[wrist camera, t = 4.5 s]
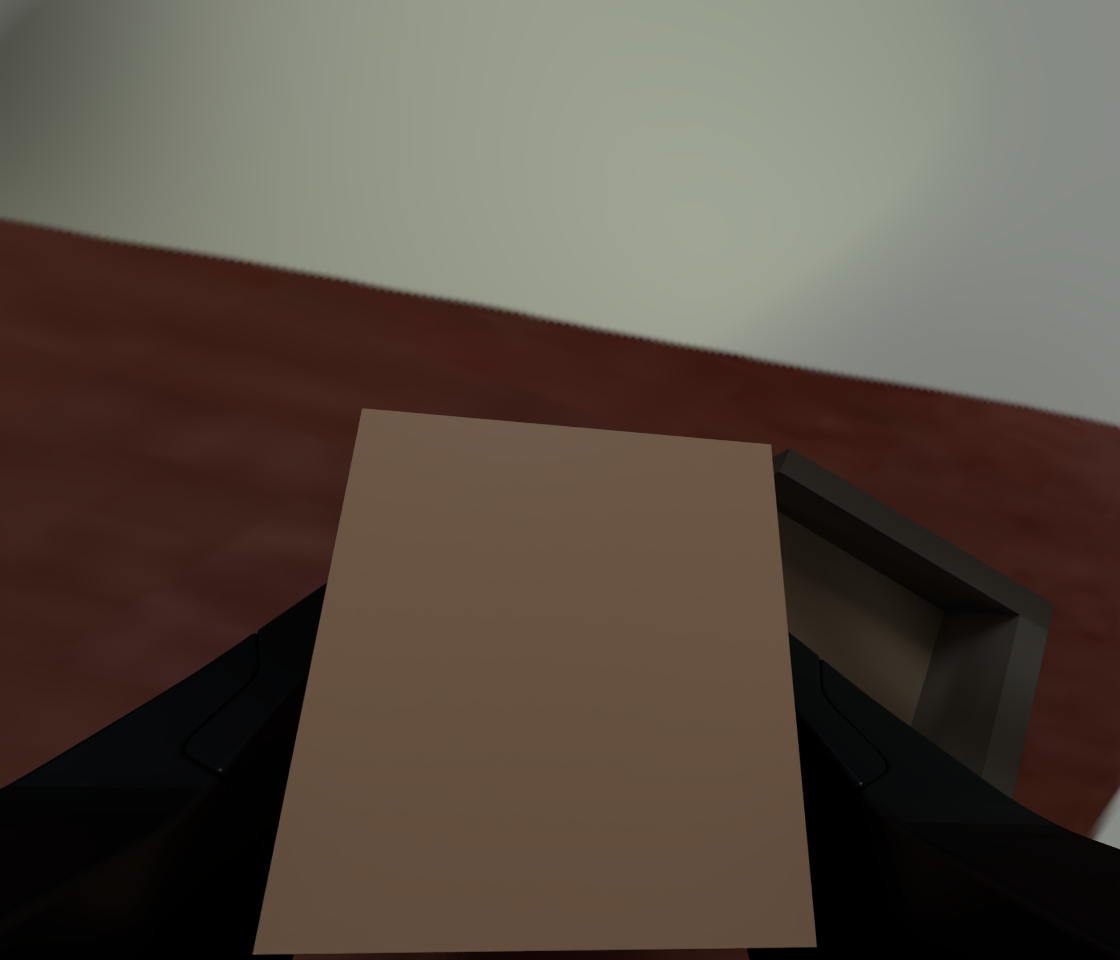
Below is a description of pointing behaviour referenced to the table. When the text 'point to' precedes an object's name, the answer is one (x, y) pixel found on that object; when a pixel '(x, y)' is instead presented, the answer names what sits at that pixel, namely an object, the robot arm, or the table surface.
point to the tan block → (546, 702)
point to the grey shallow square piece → (910, 618)
